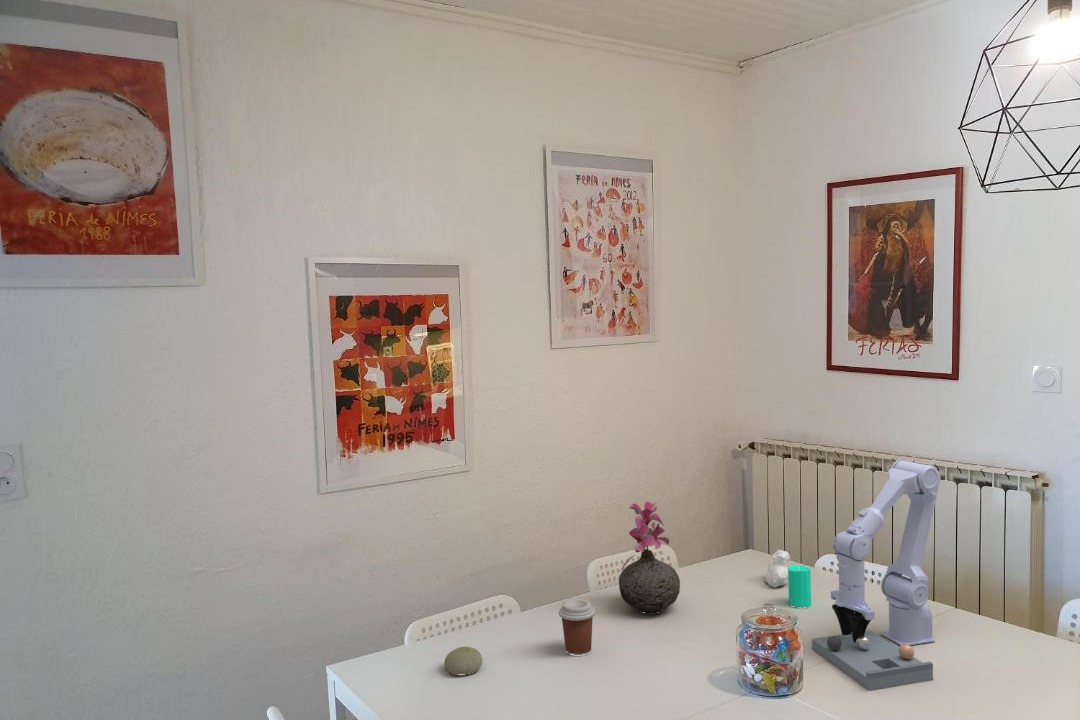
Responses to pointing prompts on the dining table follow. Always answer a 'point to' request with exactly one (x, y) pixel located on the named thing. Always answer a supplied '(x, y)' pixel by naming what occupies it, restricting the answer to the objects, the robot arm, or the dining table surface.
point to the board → (874, 662)
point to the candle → (799, 586)
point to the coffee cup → (577, 625)
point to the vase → (648, 568)
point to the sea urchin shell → (463, 660)
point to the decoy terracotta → (906, 651)
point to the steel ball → (863, 642)
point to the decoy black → (834, 643)
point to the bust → (778, 569)
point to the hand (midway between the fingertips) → (852, 638)
